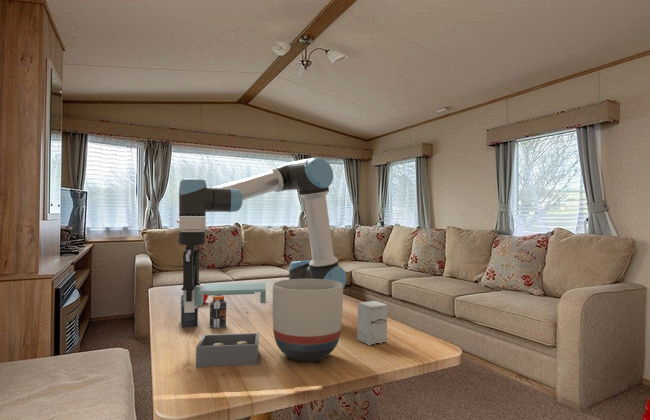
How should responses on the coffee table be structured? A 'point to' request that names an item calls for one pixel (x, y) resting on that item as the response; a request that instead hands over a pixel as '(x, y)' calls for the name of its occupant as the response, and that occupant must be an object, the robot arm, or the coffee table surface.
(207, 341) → the tub
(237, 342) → the dowel
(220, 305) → the pill bottle
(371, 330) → the supplement box
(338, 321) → the planter
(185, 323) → the box
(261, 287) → the lid
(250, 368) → the coffee table surface
